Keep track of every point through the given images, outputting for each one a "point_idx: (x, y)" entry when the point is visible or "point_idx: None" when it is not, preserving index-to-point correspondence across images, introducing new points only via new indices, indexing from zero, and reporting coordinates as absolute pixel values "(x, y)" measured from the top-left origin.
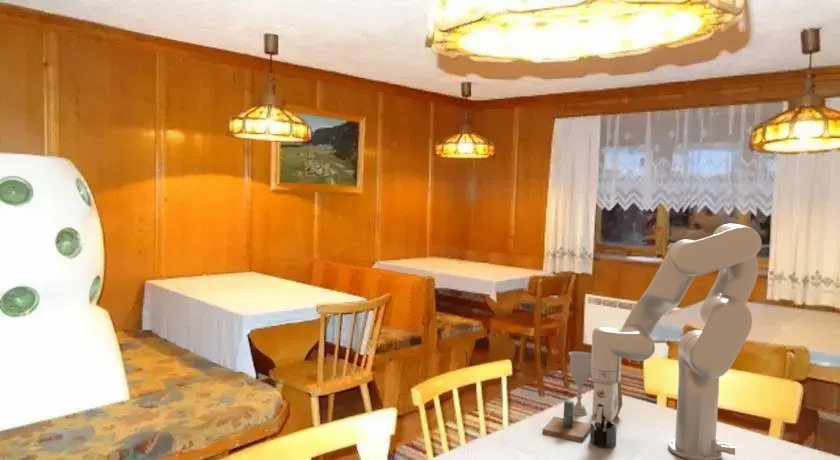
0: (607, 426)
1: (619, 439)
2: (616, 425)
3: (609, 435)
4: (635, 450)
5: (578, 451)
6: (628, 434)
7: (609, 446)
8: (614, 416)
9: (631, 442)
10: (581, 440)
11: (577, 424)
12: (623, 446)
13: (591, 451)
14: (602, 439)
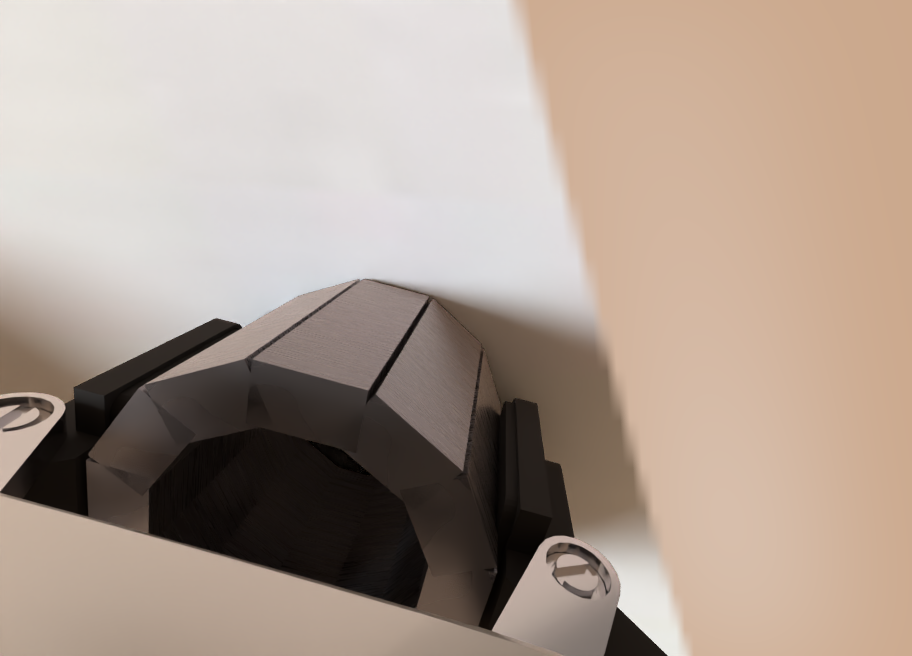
0: (203, 444)
1: (206, 229)
2: (258, 365)
3: (480, 427)
4: (463, 51)
5: (653, 612)
6: (5, 113)
7: (484, 358)
8: (248, 603)
9: (228, 90)
10: None
11: None
12: (390, 198)
13: (626, 517)
14: (564, 493)
